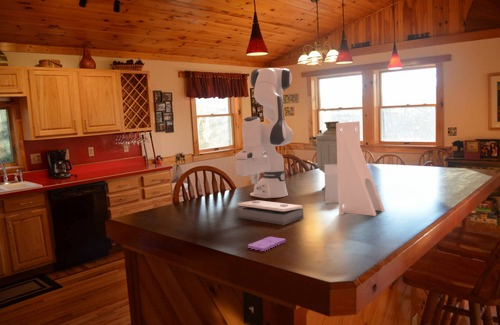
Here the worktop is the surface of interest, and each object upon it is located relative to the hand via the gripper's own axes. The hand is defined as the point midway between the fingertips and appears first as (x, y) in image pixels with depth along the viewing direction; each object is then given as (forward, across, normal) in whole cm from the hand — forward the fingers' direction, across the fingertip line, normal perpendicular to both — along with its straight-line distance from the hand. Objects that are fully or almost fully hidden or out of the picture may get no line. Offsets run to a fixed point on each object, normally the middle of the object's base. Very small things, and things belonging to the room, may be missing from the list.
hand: (254, 183), depth 181 cm
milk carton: (+15, -42, +15) cm, 47 cm away
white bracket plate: (+15, -30, +38) cm, 51 cm away
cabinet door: (+10, 0, +8) cm, 12 cm away
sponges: (+15, +31, +32) cm, 47 cm away
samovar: (+15, -77, -2) cm, 78 cm away
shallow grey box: (+15, 0, +8) cm, 17 cm away
